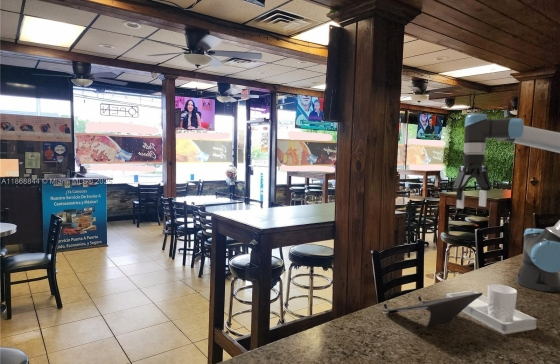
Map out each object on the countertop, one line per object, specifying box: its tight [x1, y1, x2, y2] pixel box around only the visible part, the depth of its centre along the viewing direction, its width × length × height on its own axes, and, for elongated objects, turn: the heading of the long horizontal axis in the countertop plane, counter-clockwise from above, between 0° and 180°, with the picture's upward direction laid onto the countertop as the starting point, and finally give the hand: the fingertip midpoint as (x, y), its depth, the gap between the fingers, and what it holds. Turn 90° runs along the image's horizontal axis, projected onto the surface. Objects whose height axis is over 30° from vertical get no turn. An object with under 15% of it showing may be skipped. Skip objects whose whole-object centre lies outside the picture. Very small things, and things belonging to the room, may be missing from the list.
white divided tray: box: [443, 289, 538, 335], centre depth 120 cm, size 13×24×3 cm, turn 17°
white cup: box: [486, 283, 518, 323], centre depth 114 cm, size 8×8×10 cm
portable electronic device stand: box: [383, 292, 483, 330], centre depth 115 cm, size 23×23×9 cm
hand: (471, 207), depth 146 cm, fingers open, 13 cm apart
